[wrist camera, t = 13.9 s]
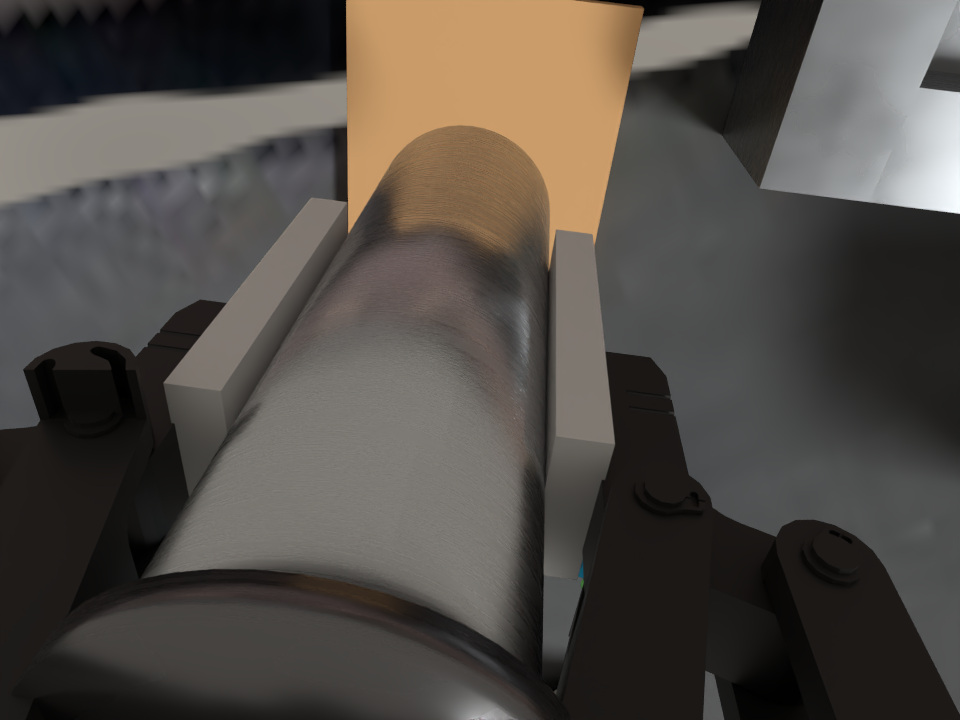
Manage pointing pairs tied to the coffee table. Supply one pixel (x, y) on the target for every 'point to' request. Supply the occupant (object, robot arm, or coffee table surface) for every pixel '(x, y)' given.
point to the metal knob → (362, 488)
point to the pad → (493, 88)
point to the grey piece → (853, 101)
